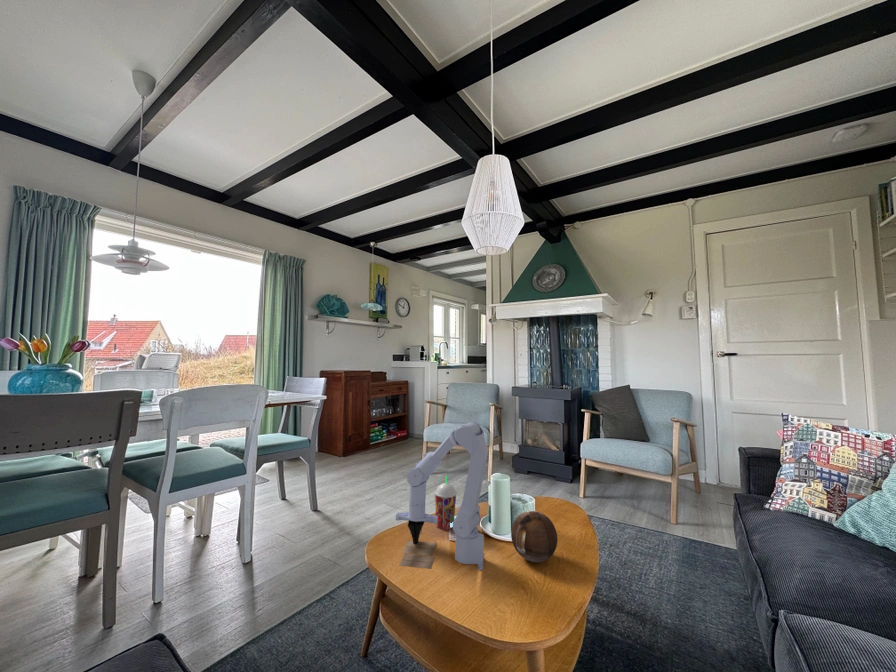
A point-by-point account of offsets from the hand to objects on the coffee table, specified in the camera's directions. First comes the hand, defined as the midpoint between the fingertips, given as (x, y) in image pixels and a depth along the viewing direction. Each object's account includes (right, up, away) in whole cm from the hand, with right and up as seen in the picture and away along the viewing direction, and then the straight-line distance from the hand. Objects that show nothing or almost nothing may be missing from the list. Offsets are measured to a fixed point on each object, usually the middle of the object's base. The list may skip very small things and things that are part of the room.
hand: (415, 542), depth 123 cm
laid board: (+2, -1, -11) cm, 11 cm away
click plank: (+2, -1, -3) cm, 4 cm away
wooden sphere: (+40, -2, -5) cm, 40 cm away
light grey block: (-1, -2, +8) cm, 8 cm away
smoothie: (+10, -3, +14) cm, 17 cm away
